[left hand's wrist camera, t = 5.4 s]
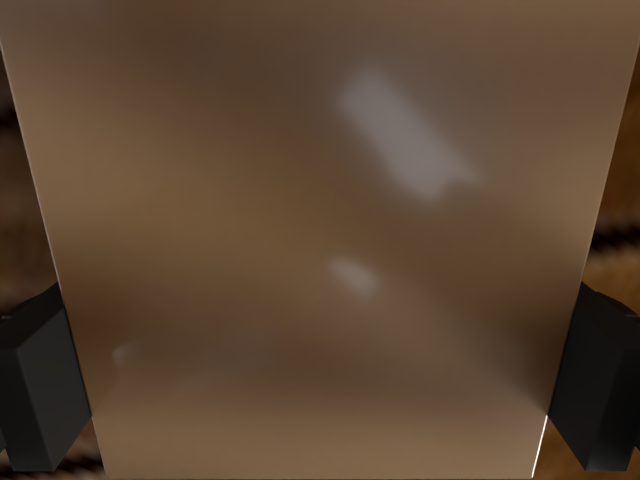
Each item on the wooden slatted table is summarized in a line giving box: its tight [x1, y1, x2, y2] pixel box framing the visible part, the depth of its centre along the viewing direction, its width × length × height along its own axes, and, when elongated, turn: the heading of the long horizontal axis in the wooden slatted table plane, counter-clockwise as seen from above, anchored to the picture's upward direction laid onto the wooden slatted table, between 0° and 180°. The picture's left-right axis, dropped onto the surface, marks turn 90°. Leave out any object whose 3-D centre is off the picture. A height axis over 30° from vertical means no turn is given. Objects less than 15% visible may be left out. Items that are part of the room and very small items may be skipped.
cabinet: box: [0, 0, 640, 479], centre depth 11 cm, size 18×10×9 cm, turn 0°
